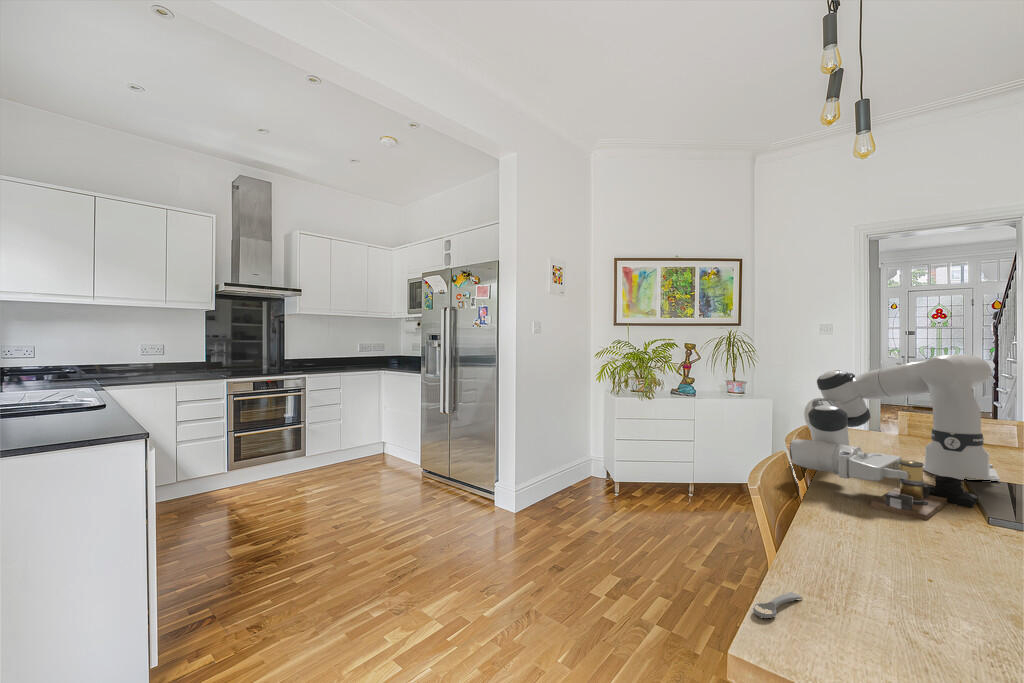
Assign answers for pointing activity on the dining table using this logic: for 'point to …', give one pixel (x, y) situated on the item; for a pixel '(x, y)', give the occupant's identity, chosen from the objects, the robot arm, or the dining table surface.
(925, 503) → the board
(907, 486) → the yellow and grey cylinder
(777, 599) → the grey bottle opener
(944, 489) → the film camera
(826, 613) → the dining table surface
